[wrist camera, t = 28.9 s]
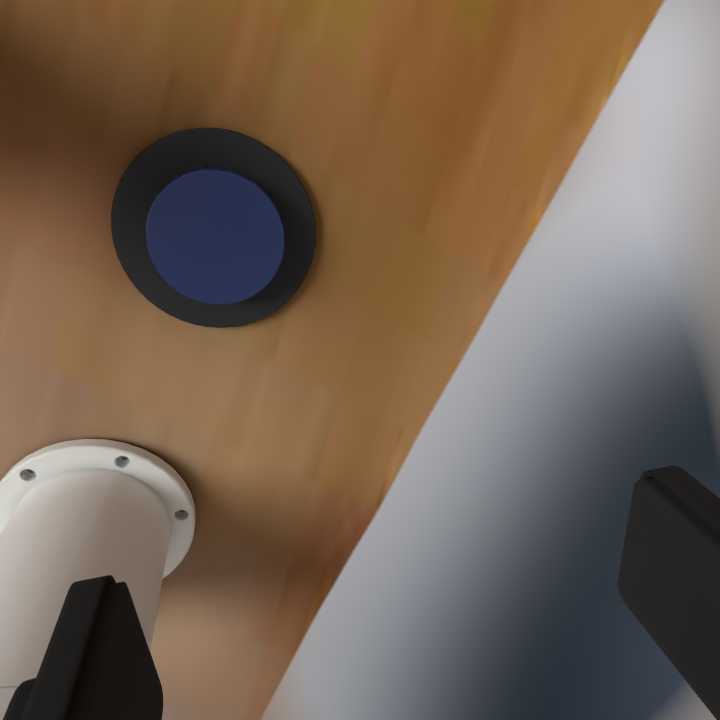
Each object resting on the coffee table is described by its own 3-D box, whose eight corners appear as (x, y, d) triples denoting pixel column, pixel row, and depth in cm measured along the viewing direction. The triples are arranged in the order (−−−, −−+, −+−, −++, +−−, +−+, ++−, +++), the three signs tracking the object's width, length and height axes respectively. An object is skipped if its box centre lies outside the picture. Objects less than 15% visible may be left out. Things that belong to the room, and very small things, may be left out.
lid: (178, 140, 28) (174, 142, 26) (303, 203, 30) (307, 208, 29) (132, 264, 30) (125, 273, 28) (253, 313, 32) (253, 324, 31)
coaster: (268, 350, 34) (268, 354, 34) (85, 279, 30) (83, 282, 30) (346, 187, 31) (348, 188, 31) (154, 86, 27) (152, 85, 27)
